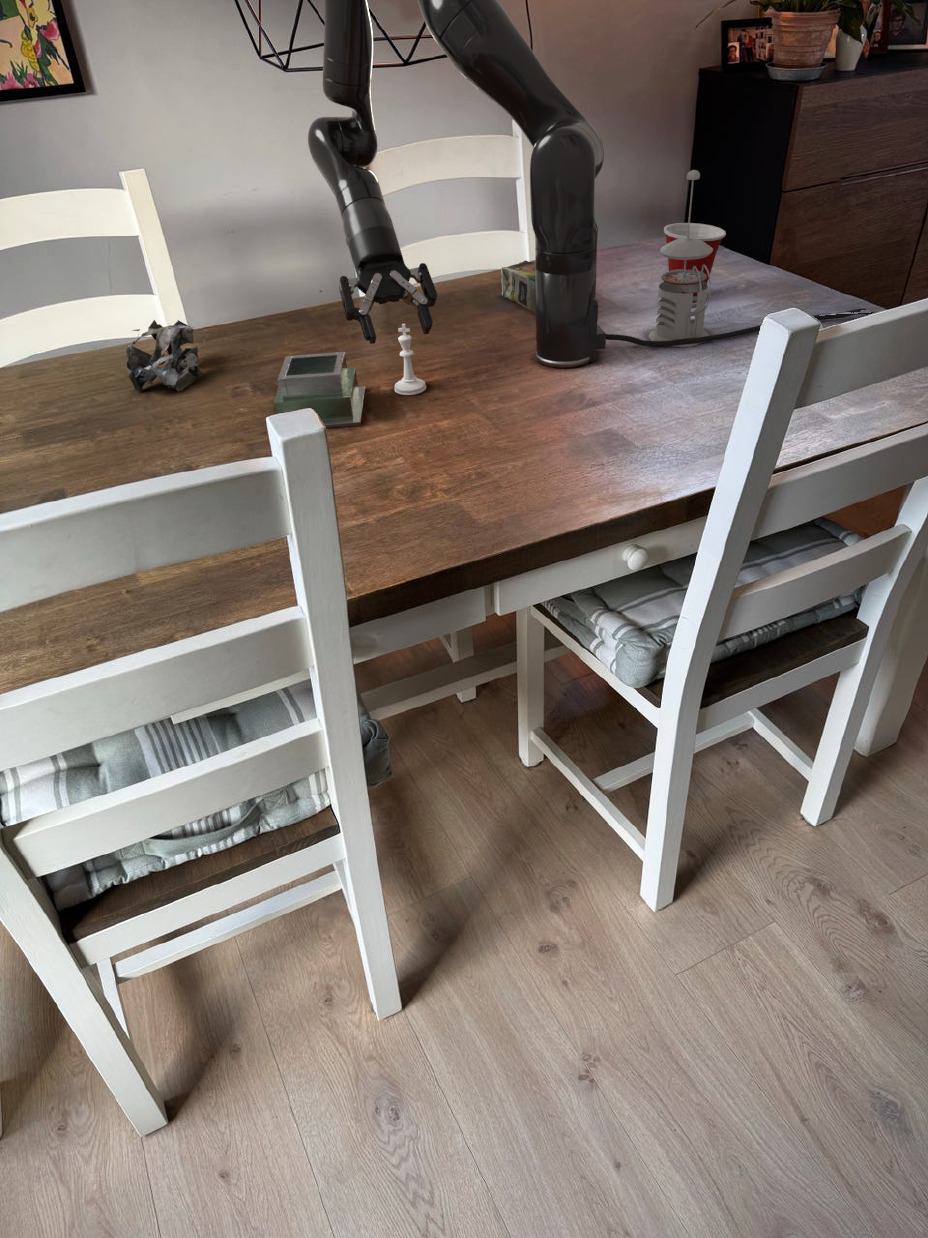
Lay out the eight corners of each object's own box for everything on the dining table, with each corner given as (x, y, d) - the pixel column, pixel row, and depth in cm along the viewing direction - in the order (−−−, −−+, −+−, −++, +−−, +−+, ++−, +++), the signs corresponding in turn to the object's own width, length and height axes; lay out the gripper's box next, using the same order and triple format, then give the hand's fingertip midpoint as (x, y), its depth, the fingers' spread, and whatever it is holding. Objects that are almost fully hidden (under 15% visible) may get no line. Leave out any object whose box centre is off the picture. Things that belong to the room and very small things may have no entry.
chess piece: (421, 395, 130) (415, 330, 124) (390, 394, 131) (382, 329, 125) (429, 382, 134) (423, 318, 127) (399, 382, 135) (391, 318, 128)
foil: (99, 369, 138) (148, 295, 140) (147, 409, 147) (193, 339, 149) (140, 381, 131) (191, 303, 134) (188, 422, 140) (235, 348, 143)
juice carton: (496, 294, 165) (495, 261, 162) (540, 285, 169) (540, 253, 165) (550, 325, 151) (551, 289, 147) (597, 314, 154) (599, 279, 150)
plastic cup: (724, 305, 153) (733, 233, 146) (663, 308, 154) (669, 237, 146) (711, 286, 162) (719, 218, 154) (653, 289, 162) (658, 222, 155)
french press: (689, 322, 147) (705, 160, 132) (726, 343, 139) (748, 173, 123) (638, 331, 145) (648, 168, 130) (672, 354, 136) (687, 182, 121)
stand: (365, 389, 133) (359, 345, 129) (360, 425, 123) (353, 378, 118) (282, 395, 133) (273, 351, 129) (270, 432, 123) (260, 385, 119)
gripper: (327, 231, 126) (357, 332, 124) (419, 217, 129) (449, 315, 127) (325, 260, 133) (353, 356, 131) (412, 246, 136) (441, 339, 135)
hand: (400, 336), depth 129 cm, fingers open, 8 cm apart
